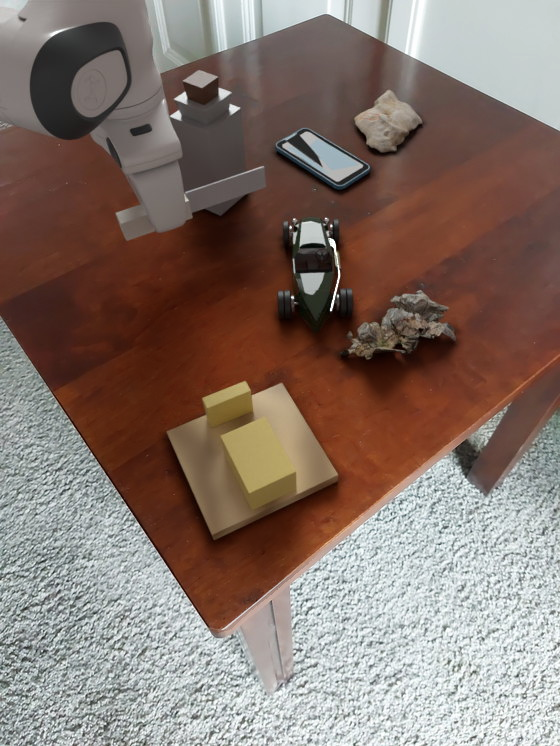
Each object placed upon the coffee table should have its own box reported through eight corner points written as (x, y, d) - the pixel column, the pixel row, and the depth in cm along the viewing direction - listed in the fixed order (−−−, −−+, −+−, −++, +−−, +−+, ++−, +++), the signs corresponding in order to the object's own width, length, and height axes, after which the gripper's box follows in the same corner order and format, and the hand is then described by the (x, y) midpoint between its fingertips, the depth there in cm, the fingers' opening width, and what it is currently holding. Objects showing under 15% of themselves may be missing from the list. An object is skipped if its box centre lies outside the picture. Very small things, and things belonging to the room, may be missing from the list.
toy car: (342, 229, 85) (344, 201, 81) (354, 338, 73) (357, 311, 69) (277, 231, 85) (276, 203, 81) (278, 340, 73) (277, 314, 69)
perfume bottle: (214, 176, 93) (197, 60, 78) (248, 191, 90) (237, 74, 76) (185, 199, 90) (162, 83, 75) (220, 216, 87) (203, 98, 73)
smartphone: (339, 188, 89) (272, 144, 95) (339, 193, 90) (272, 150, 96) (373, 166, 92) (305, 126, 98) (372, 172, 92) (305, 131, 99)
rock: (323, 332, 74) (323, 311, 71) (426, 292, 77) (431, 270, 74) (357, 381, 69) (359, 361, 66) (465, 336, 73) (472, 315, 69)
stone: (385, 100, 104) (387, 84, 102) (436, 123, 99) (439, 107, 97) (335, 133, 99) (336, 117, 96) (386, 159, 94) (388, 142, 92)
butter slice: (211, 428, 64) (206, 408, 61) (206, 417, 65) (201, 397, 62) (253, 411, 65) (251, 390, 62) (248, 401, 66) (245, 380, 63)
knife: (126, 241, 75) (119, 221, 72) (121, 230, 76) (114, 210, 74) (269, 191, 79) (268, 171, 77) (261, 181, 81) (260, 161, 78)
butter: (251, 510, 59) (248, 493, 55) (224, 454, 62) (219, 435, 59) (297, 489, 60) (296, 471, 57) (267, 435, 64) (265, 415, 60)
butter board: (213, 540, 59) (211, 535, 57) (168, 438, 66) (166, 431, 64) (337, 481, 62) (338, 474, 61) (282, 389, 69) (282, 382, 68)
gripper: (73, 76, 69) (106, 178, 80) (126, 171, 58) (155, 273, 69) (125, 62, 70) (150, 164, 82) (187, 152, 59) (205, 255, 71)
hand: (153, 215), depth 75 cm, fingers closed on knife, 2 cm apart
